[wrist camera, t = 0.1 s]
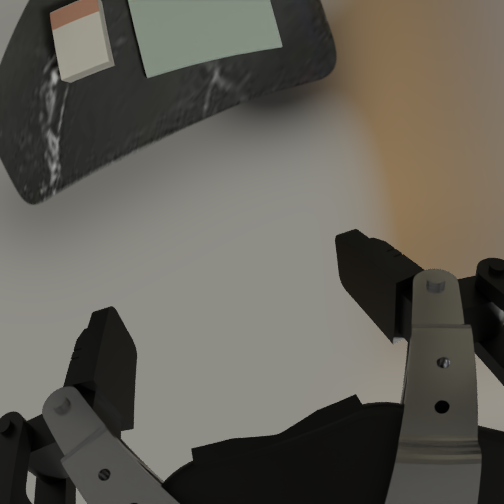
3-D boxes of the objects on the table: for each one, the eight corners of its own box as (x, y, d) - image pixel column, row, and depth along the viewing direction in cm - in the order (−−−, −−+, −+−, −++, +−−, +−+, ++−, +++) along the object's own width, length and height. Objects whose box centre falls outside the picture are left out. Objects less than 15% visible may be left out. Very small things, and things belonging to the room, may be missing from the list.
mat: (122, -26, 25) (122, -27, 24) (252, -51, 26) (253, -53, 26) (147, 78, 32) (147, 77, 31) (280, 47, 33) (282, 46, 33)
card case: (71, 82, 30) (61, 80, 26) (59, 20, 26) (49, 13, 22) (115, 65, 30) (109, 61, 27) (102, 3, 26) (96, -7, 23)
